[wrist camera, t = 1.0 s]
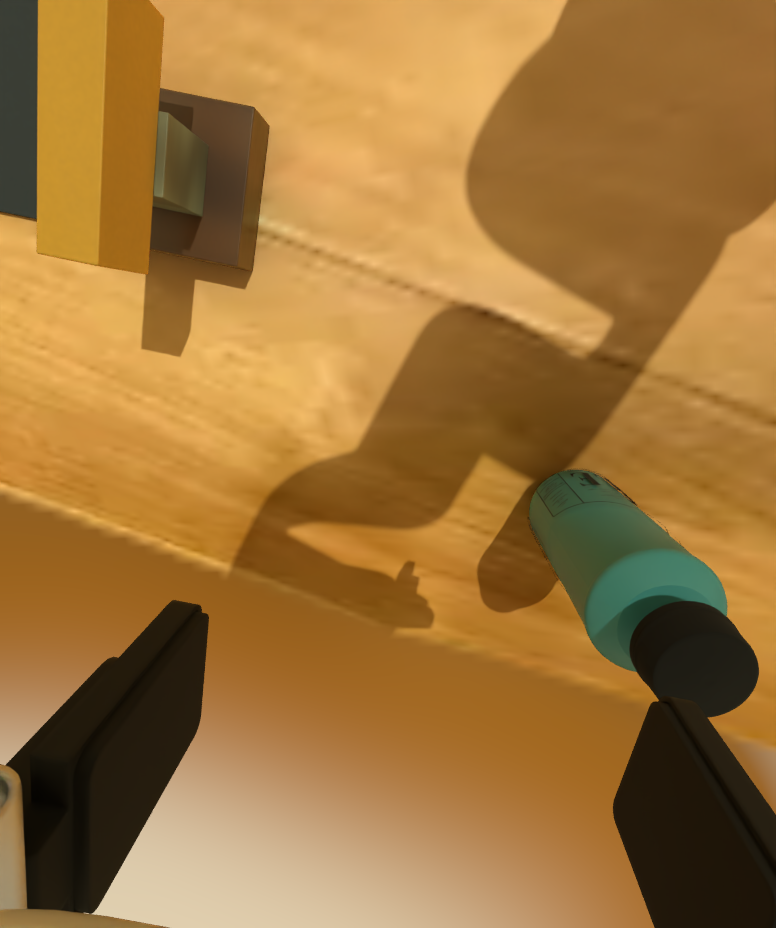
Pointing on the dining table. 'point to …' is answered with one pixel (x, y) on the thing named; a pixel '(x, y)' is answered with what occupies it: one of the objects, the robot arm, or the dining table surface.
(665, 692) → the beverage bottle
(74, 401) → the dining table surface
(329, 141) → the dining table surface
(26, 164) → the mat
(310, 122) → the dining table surface
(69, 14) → the bar
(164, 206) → the square knob plate
